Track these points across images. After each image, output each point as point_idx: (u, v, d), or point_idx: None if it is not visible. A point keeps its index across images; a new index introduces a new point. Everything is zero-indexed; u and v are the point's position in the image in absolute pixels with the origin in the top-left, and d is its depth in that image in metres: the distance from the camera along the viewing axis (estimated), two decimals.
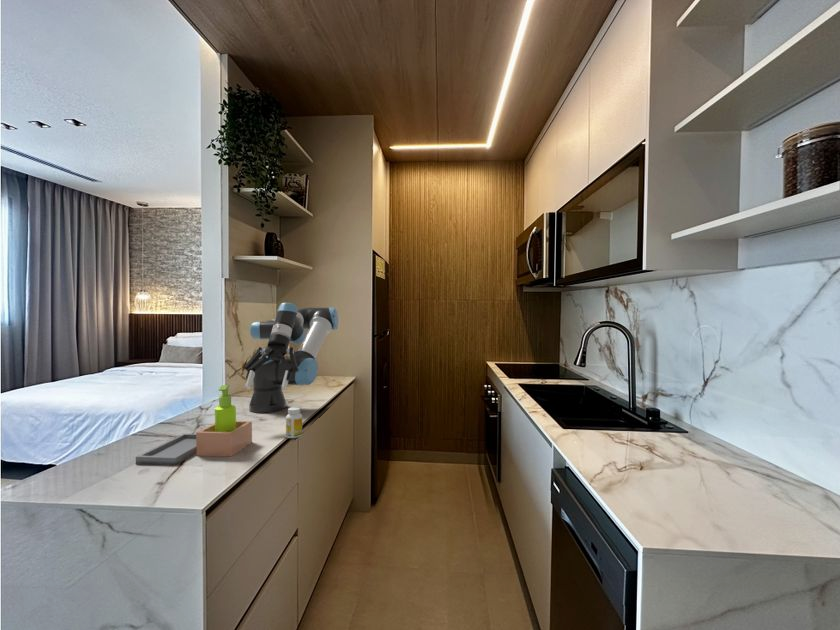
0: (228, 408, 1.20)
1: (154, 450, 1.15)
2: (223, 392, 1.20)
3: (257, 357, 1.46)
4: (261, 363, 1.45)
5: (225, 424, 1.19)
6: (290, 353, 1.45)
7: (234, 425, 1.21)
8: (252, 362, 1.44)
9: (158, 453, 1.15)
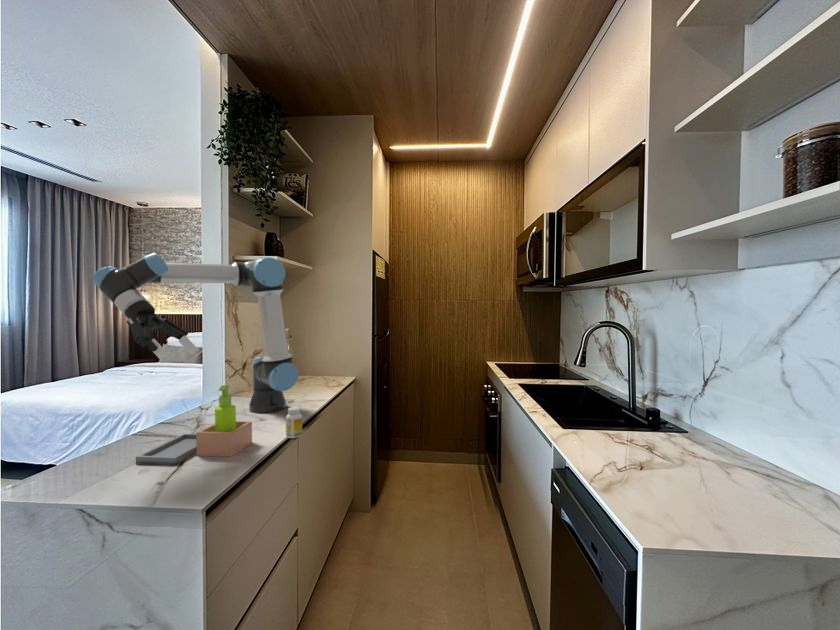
0: (228, 408, 1.20)
1: (154, 450, 1.15)
2: (223, 392, 1.20)
3: None
4: (169, 330, 1.26)
5: (225, 424, 1.19)
6: None
7: (234, 425, 1.21)
8: None
9: (158, 453, 1.15)
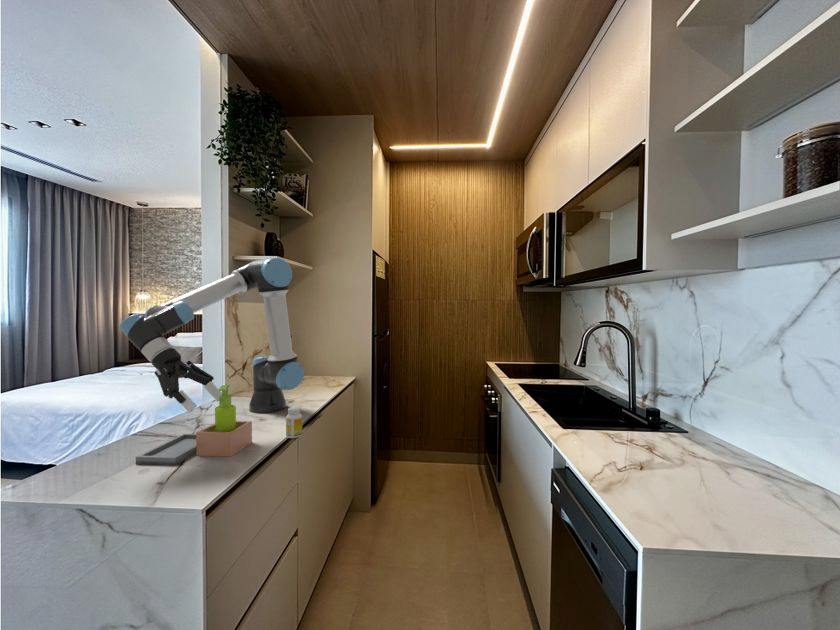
0: (228, 408, 1.20)
1: (154, 450, 1.15)
2: (223, 392, 1.20)
3: (194, 372, 1.27)
4: (196, 377, 1.25)
5: (225, 424, 1.19)
6: None
7: (234, 425, 1.21)
8: None
9: (158, 453, 1.15)
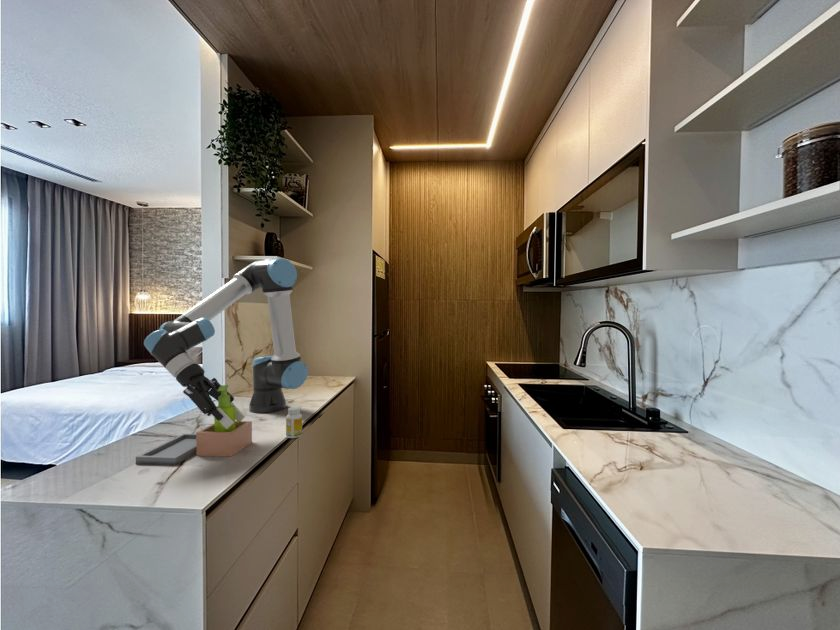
0: (227, 408, 1.19)
1: (154, 450, 1.15)
2: (222, 392, 1.20)
3: None
4: (217, 395, 1.24)
5: None
6: None
7: (234, 425, 1.21)
8: None
9: (158, 453, 1.15)
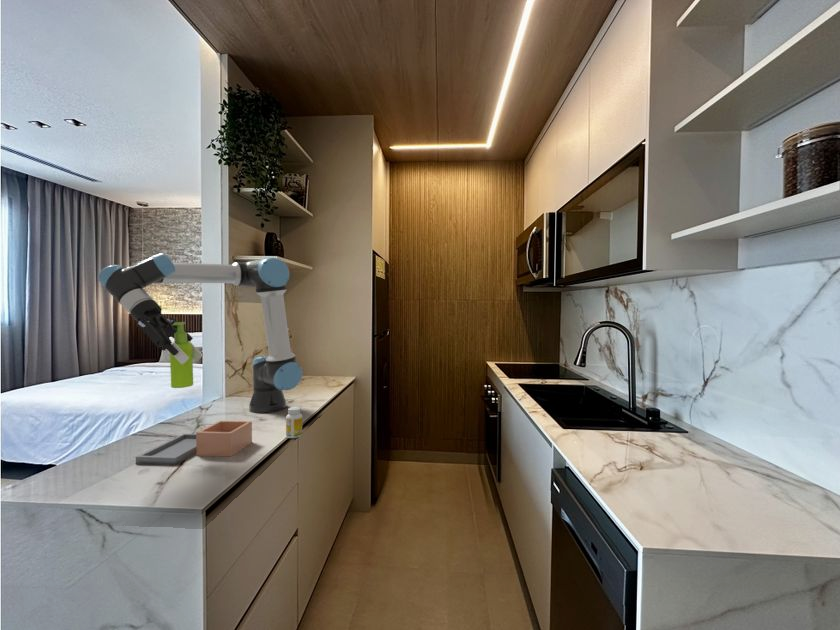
0: (183, 344, 1.17)
1: (154, 450, 1.15)
2: (178, 328, 1.17)
3: None
4: None
5: None
6: None
7: (190, 362, 1.19)
8: None
9: (158, 453, 1.15)
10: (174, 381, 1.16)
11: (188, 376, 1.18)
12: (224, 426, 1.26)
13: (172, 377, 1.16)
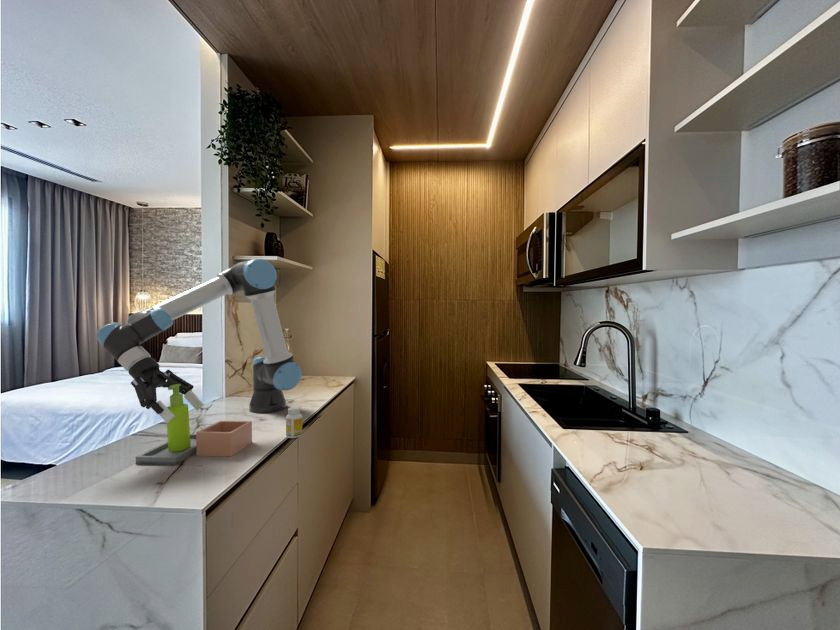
0: (179, 407, 1.17)
1: (154, 450, 1.15)
2: (174, 391, 1.18)
3: (173, 381, 1.26)
4: None
5: (176, 423, 1.16)
6: None
7: (187, 424, 1.19)
8: None
9: (158, 453, 1.15)
10: (171, 445, 1.16)
11: (185, 438, 1.18)
12: (224, 426, 1.26)
13: (169, 441, 1.17)
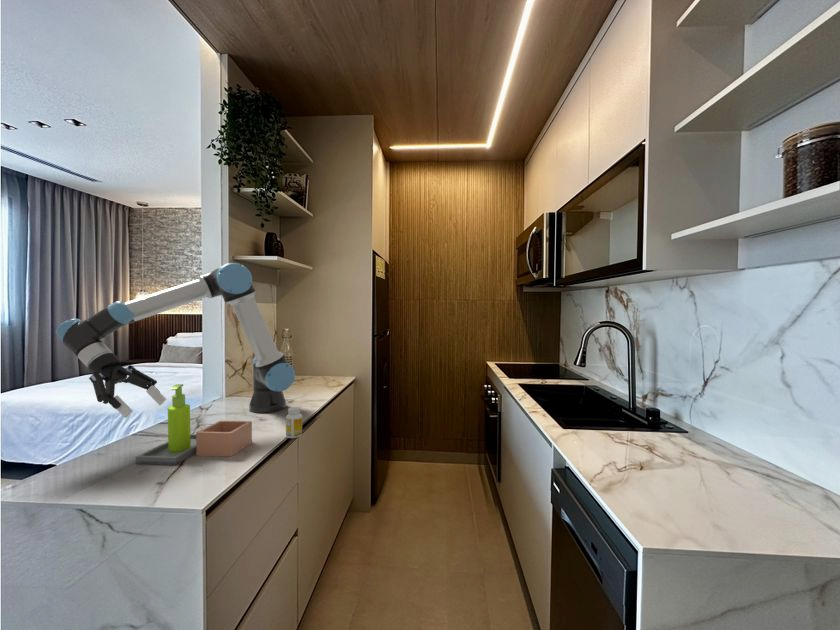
0: (181, 408, 1.17)
1: (154, 450, 1.15)
2: (176, 391, 1.18)
3: None
4: (136, 381, 1.24)
5: (178, 424, 1.16)
6: None
7: (188, 425, 1.19)
8: None
9: (158, 453, 1.15)
10: (171, 445, 1.16)
11: (185, 439, 1.18)
12: (224, 426, 1.26)
13: (169, 441, 1.17)
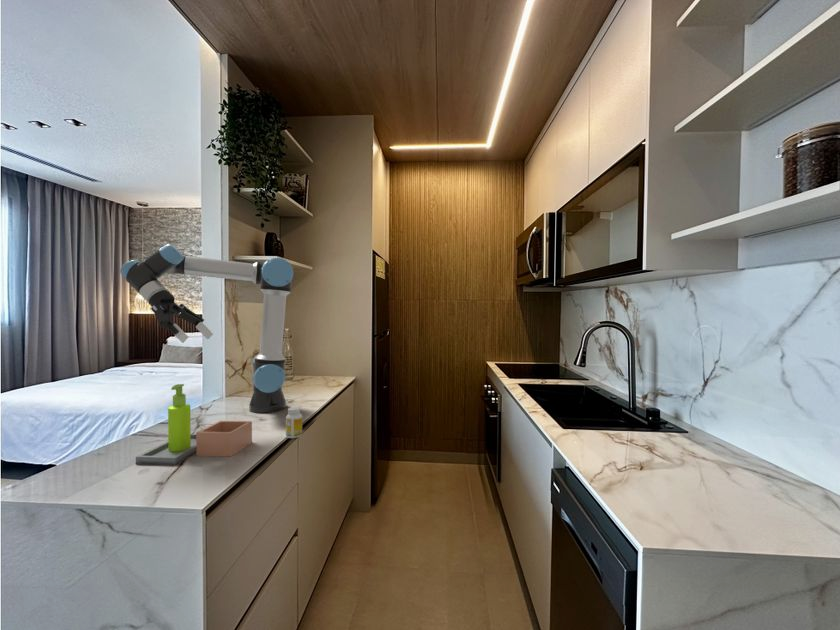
0: (181, 407, 1.17)
1: (154, 450, 1.15)
2: (177, 391, 1.18)
3: None
4: (188, 317, 1.42)
5: (178, 424, 1.17)
6: None
7: (188, 425, 1.19)
8: None
9: (158, 453, 1.15)
10: (171, 445, 1.16)
11: (185, 439, 1.18)
12: (224, 426, 1.26)
13: (169, 440, 1.17)
